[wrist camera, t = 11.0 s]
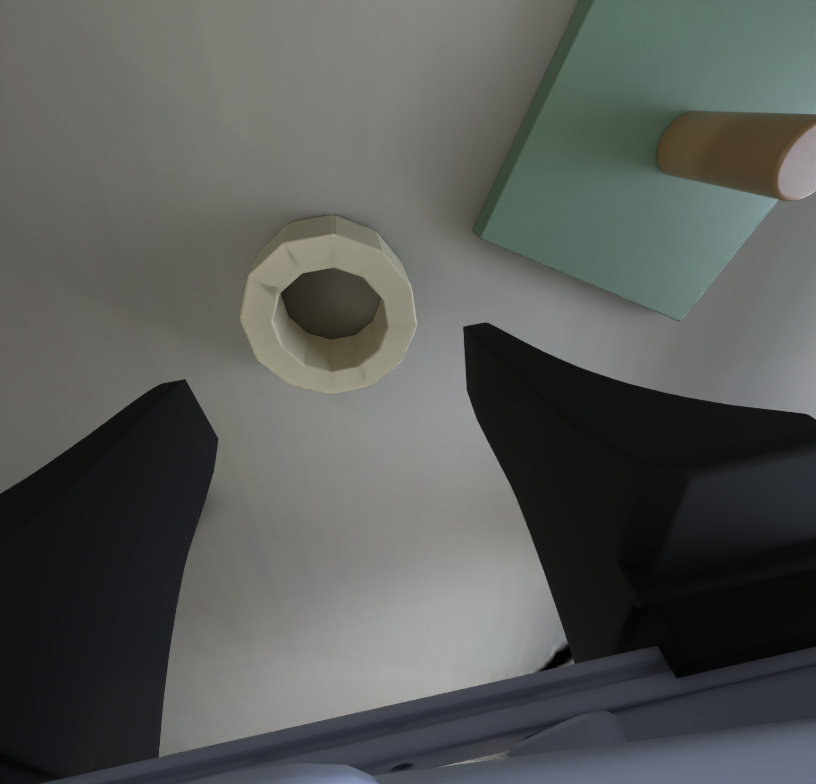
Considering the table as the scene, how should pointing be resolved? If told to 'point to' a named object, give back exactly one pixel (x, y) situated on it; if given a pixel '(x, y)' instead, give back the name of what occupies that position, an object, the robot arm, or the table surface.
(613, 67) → the tape stand
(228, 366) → the table surface
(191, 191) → the table surface
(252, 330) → the tape roll
